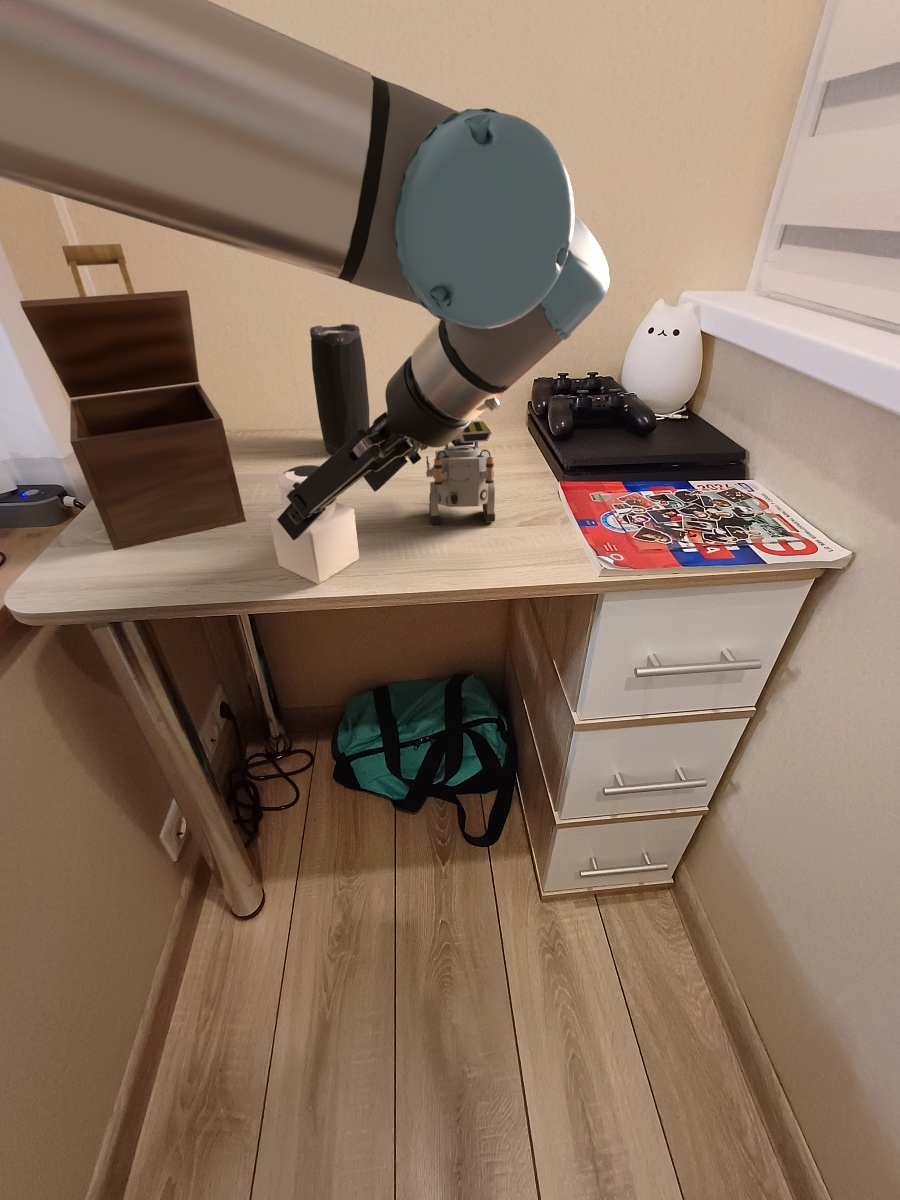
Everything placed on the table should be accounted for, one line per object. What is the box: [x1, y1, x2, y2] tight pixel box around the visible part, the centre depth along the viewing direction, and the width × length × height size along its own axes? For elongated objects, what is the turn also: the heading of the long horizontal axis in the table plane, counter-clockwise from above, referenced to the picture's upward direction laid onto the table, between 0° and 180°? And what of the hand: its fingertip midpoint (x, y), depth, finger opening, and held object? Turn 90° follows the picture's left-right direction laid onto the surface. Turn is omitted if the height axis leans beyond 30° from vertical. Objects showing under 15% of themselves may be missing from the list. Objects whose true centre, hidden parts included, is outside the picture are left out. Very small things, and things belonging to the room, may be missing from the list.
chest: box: [69, 382, 247, 551], centre depth 78 cm, size 18×17×14 cm
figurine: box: [425, 415, 496, 525], centre depth 77 cm, size 9×12×15 cm
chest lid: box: [19, 243, 200, 399], centre depth 72 cm, size 18×17×9 cm
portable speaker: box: [309, 323, 370, 456], centre depth 95 cm, size 9×9×20 cm
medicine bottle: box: [268, 464, 360, 585], centre depth 67 cm, size 7×7×12 cm
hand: (331, 503), depth 64 cm, fingers open, 13 cm apart
